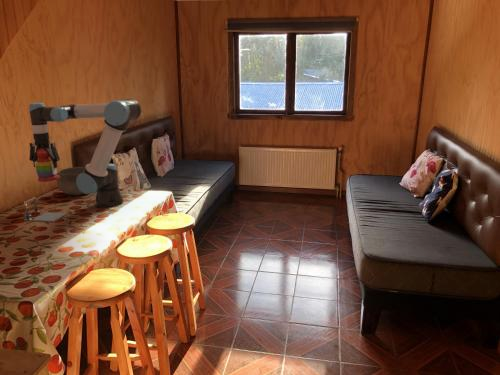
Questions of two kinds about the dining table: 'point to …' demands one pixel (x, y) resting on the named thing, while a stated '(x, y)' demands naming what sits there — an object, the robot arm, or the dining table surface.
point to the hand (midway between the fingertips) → (46, 173)
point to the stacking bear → (44, 167)
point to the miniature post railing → (27, 209)
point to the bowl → (70, 180)
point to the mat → (49, 217)
